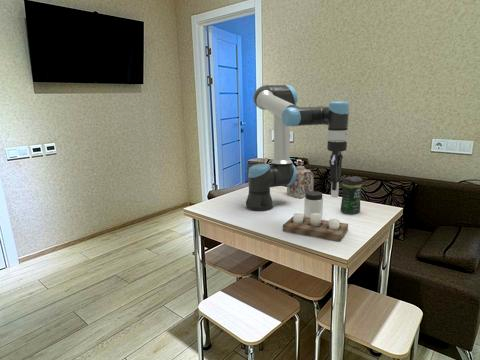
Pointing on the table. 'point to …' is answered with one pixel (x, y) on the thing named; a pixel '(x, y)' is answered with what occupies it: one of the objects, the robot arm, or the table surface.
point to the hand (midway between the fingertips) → (334, 196)
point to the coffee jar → (351, 195)
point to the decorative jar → (301, 183)
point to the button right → (334, 224)
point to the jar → (313, 203)
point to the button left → (298, 218)
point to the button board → (316, 229)
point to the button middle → (315, 219)
